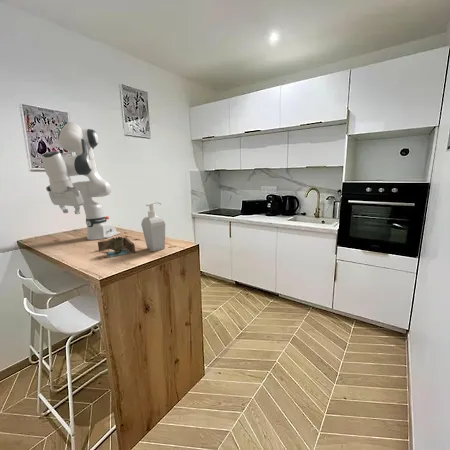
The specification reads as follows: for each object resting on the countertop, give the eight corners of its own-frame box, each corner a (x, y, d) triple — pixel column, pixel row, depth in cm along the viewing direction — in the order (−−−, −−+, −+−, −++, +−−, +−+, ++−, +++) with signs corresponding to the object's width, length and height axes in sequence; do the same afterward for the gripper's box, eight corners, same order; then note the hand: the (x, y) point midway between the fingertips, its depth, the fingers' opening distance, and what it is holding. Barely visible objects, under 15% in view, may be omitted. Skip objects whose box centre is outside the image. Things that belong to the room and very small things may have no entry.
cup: (108, 253, 139) (106, 238, 137) (121, 249, 144) (119, 235, 142) (114, 255, 134) (111, 240, 132) (127, 251, 139) (125, 237, 137)
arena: (104, 259, 130) (102, 250, 129) (98, 250, 146) (97, 242, 145) (135, 252, 138) (134, 243, 137) (127, 245, 154) (126, 237, 153)
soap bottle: (170, 248, 143) (166, 202, 138) (154, 252, 137) (148, 204, 131) (160, 244, 152) (155, 201, 147) (144, 248, 146) (138, 203, 140)
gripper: (82, 185, 121) (91, 212, 127) (56, 184, 130) (65, 210, 136) (69, 188, 116) (79, 217, 121) (43, 188, 125) (53, 214, 130)
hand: (71, 213), depth 129 cm, fingers open, 8 cm apart
